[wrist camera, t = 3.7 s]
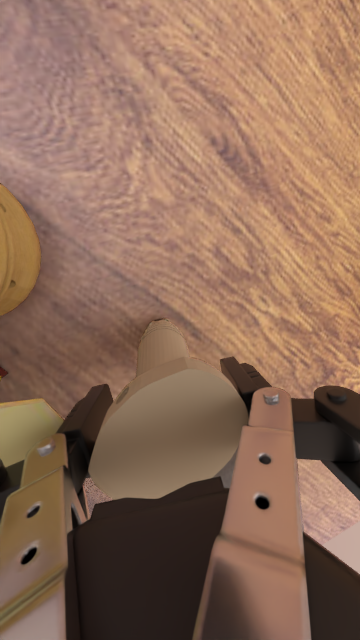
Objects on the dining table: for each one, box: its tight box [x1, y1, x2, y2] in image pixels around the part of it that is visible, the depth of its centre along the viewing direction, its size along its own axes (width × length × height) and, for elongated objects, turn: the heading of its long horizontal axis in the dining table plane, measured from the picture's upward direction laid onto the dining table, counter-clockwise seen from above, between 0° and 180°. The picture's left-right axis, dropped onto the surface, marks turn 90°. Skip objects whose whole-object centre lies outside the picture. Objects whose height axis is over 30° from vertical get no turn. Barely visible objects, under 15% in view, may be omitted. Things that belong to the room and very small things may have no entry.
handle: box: [88, 318, 249, 500], centre depth 15 cm, size 5×6×15 cm
